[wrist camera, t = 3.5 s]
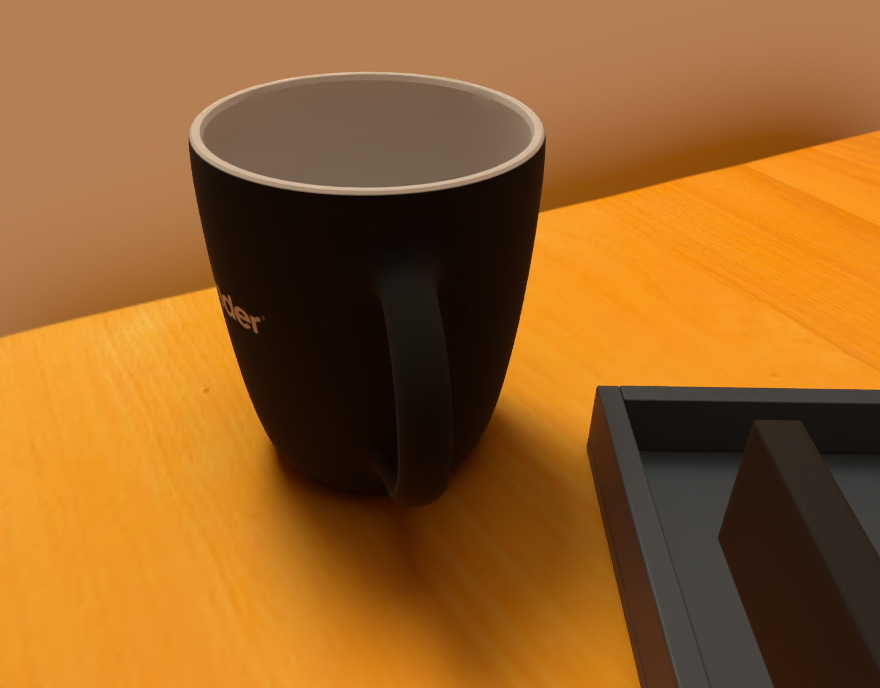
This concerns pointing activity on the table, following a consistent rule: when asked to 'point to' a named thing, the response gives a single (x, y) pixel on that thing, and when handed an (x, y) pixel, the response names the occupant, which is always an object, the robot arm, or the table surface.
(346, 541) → the table surface
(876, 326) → the table surface
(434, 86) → the mug
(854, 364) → the table surface
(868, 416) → the tray
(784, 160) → the table surface
